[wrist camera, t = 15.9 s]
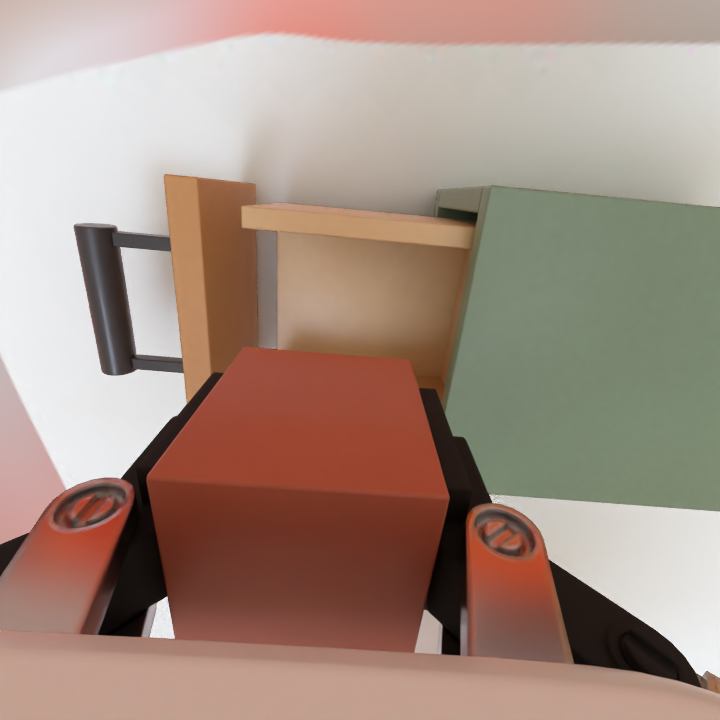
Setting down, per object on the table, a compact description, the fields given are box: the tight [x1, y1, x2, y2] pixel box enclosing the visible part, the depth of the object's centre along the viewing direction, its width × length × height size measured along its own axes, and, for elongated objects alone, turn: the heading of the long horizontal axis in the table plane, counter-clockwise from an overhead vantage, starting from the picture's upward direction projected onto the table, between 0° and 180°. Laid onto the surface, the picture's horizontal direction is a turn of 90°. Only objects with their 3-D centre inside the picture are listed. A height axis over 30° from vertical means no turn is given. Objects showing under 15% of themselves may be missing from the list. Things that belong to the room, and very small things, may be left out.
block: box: [146, 347, 450, 653], centre depth 9 cm, size 4×4×5 cm
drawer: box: [74, 174, 477, 404], centre depth 19 cm, size 19×12×8 cm, turn 85°
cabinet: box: [434, 185, 720, 511], centre depth 20 cm, size 15×13×10 cm
